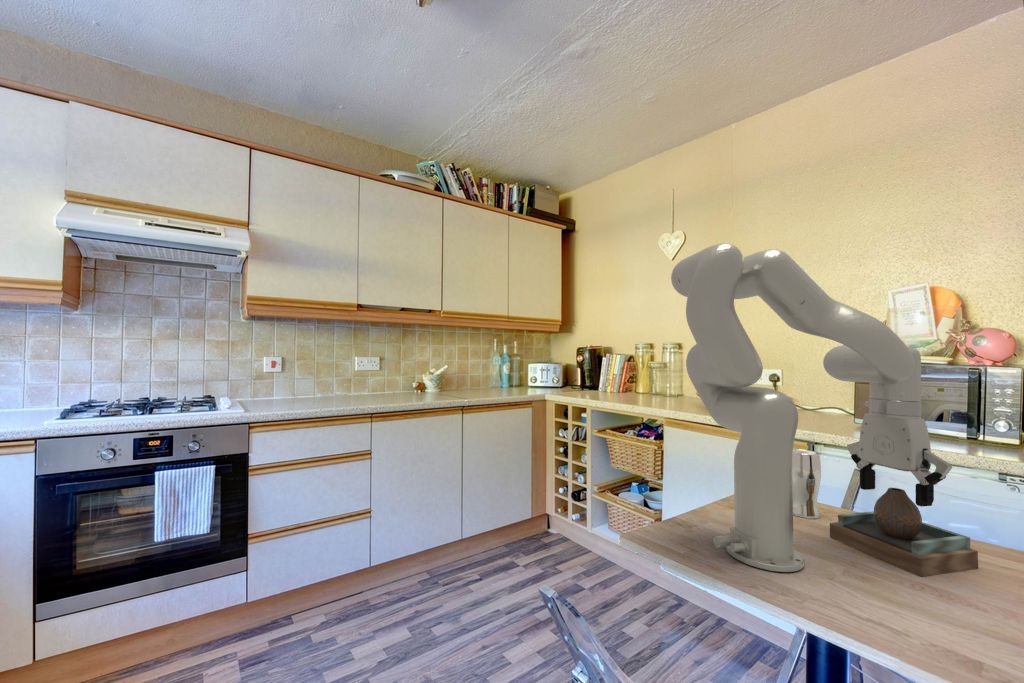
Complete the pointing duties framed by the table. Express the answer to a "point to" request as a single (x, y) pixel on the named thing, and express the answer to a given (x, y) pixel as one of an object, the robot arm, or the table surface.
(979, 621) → the table surface
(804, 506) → the beer glass
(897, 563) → the dock
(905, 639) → the table surface
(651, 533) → the table surface
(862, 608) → the table surface
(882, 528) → the vase
